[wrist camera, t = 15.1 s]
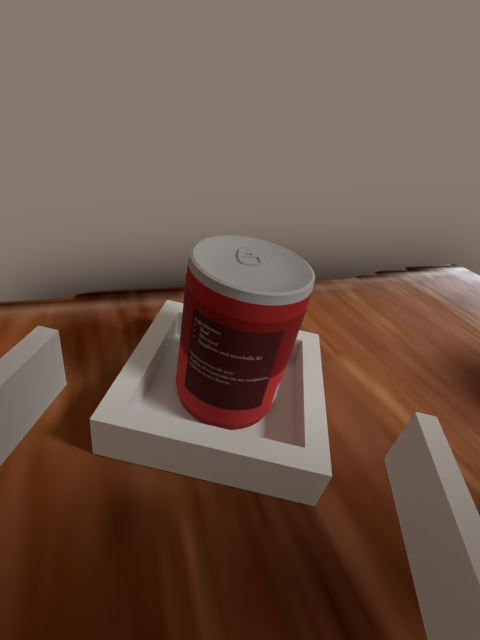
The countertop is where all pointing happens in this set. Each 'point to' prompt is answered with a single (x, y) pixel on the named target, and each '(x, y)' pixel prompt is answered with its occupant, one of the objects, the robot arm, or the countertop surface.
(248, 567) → the countertop surface
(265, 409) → the canned food
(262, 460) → the tray
